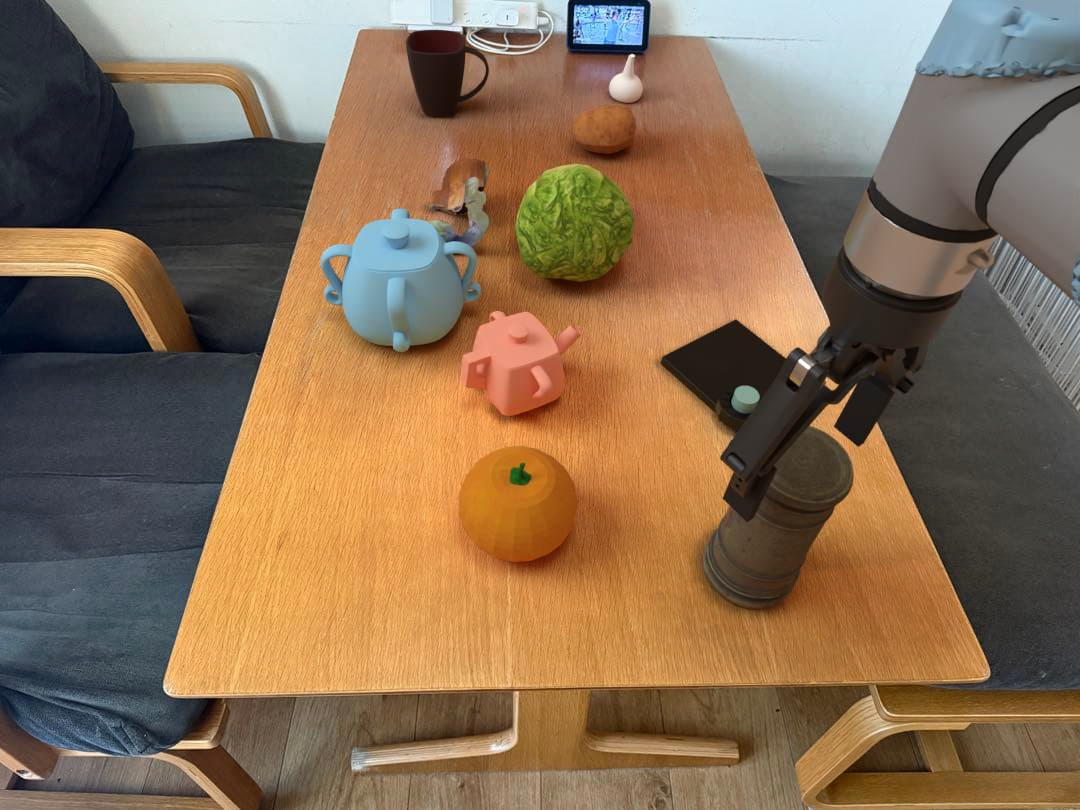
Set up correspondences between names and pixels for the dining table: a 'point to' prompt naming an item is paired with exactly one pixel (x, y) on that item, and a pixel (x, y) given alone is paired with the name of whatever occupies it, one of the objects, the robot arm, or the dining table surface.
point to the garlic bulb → (626, 84)
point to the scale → (725, 368)
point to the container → (779, 524)
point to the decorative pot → (401, 282)
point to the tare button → (745, 399)
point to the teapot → (517, 362)
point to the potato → (604, 128)
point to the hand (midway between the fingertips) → (795, 470)
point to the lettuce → (573, 224)
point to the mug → (440, 70)
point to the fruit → (518, 503)
